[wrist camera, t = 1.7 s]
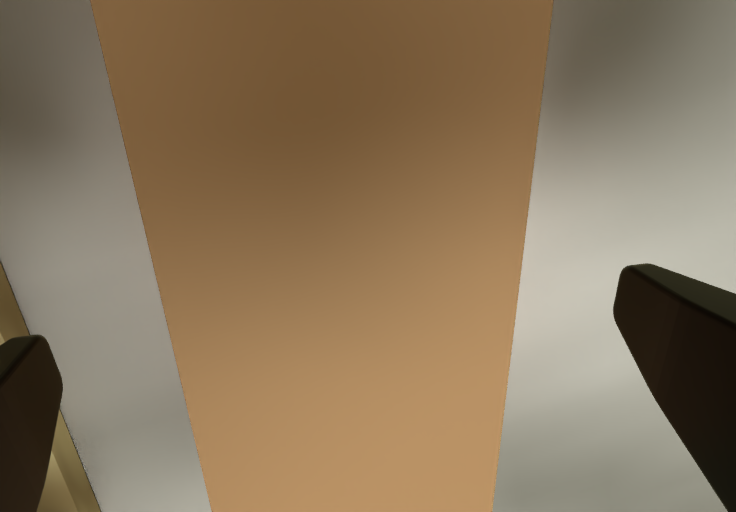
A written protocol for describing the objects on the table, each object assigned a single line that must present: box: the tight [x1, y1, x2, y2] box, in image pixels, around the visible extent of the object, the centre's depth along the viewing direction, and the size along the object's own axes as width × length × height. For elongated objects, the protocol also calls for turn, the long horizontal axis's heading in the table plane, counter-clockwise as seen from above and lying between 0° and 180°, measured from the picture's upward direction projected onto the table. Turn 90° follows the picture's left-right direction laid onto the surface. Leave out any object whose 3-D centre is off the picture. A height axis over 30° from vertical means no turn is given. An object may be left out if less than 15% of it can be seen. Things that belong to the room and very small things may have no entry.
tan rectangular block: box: [90, 0, 554, 512], centre depth 12 cm, size 14×6×4 cm, turn 1°
